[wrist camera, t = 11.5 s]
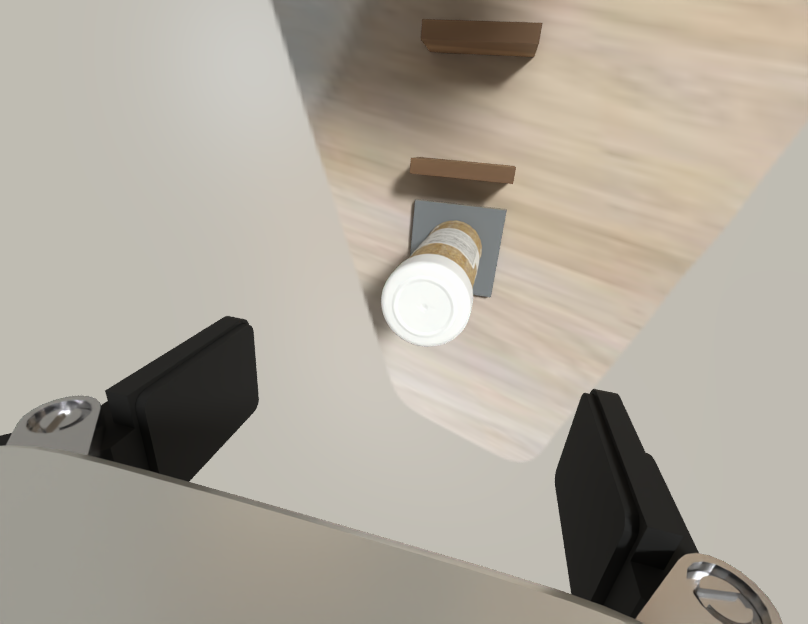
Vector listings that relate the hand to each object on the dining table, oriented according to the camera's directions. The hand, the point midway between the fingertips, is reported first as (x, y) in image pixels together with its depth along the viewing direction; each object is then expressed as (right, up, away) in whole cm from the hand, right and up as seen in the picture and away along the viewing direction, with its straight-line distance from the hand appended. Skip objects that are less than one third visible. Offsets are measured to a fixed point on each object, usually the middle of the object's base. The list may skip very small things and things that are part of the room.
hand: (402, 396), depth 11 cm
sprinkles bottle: (+4, +8, +20) cm, 22 cm away
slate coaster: (+4, +8, +21) cm, 23 cm away
